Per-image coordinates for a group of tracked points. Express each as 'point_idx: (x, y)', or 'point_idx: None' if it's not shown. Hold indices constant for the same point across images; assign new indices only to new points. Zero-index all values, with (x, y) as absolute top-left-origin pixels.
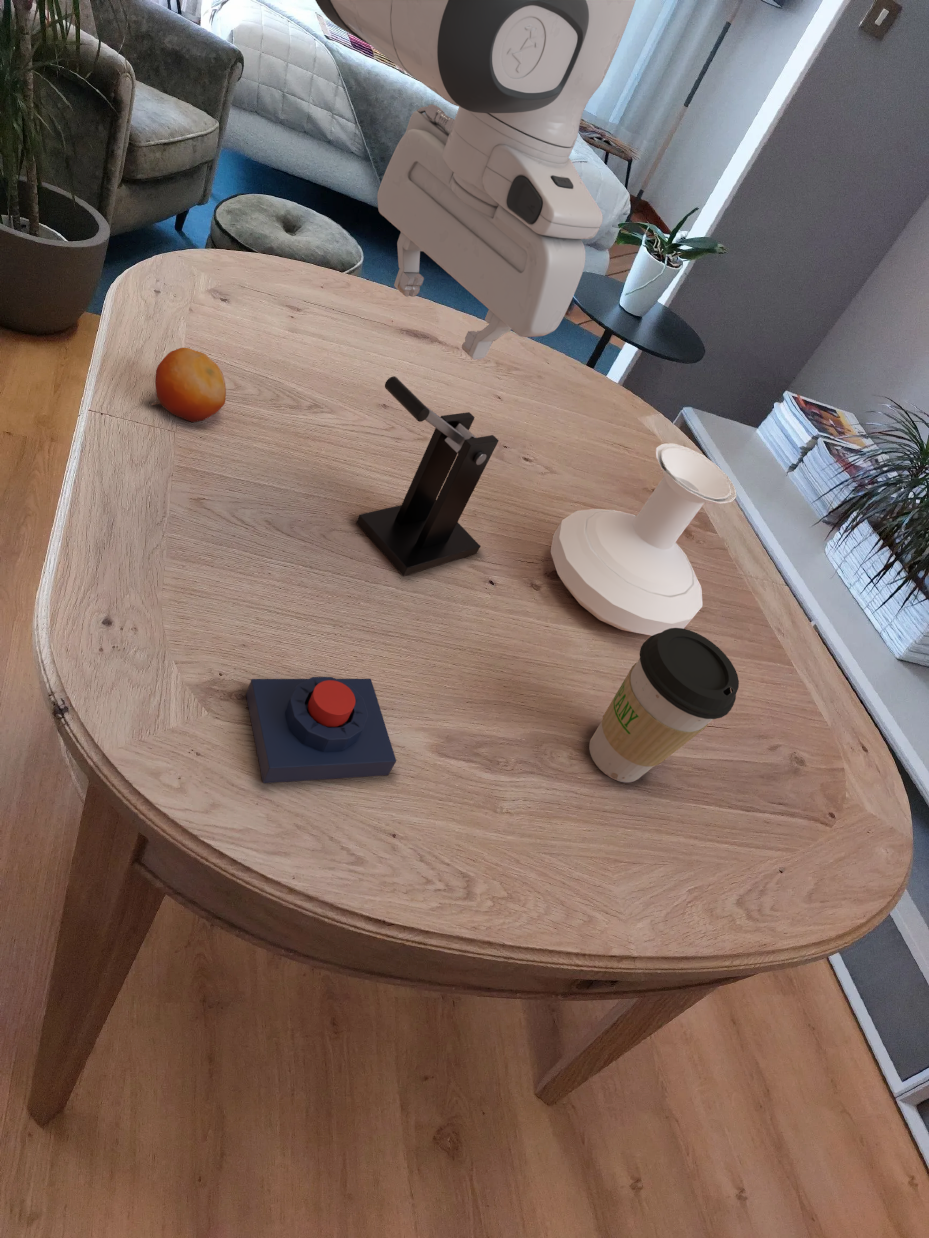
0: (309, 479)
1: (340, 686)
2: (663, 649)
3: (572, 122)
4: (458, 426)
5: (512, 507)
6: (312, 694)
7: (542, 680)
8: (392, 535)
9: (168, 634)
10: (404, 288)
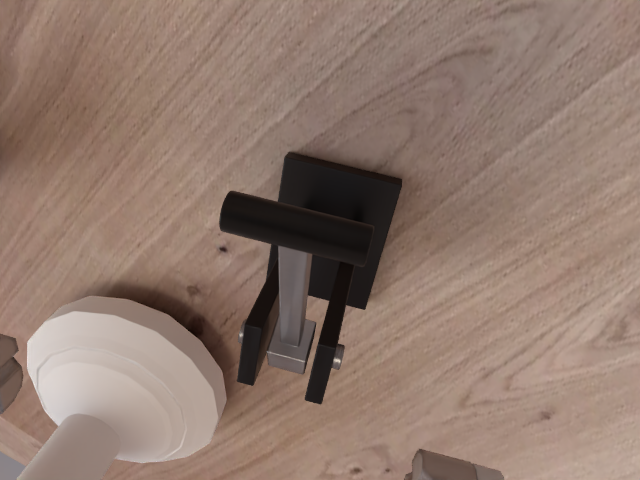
0: (512, 193)
1: None
2: None
3: None
4: (302, 355)
5: (305, 385)
6: None
7: (75, 162)
8: (343, 193)
9: None
10: (429, 474)
